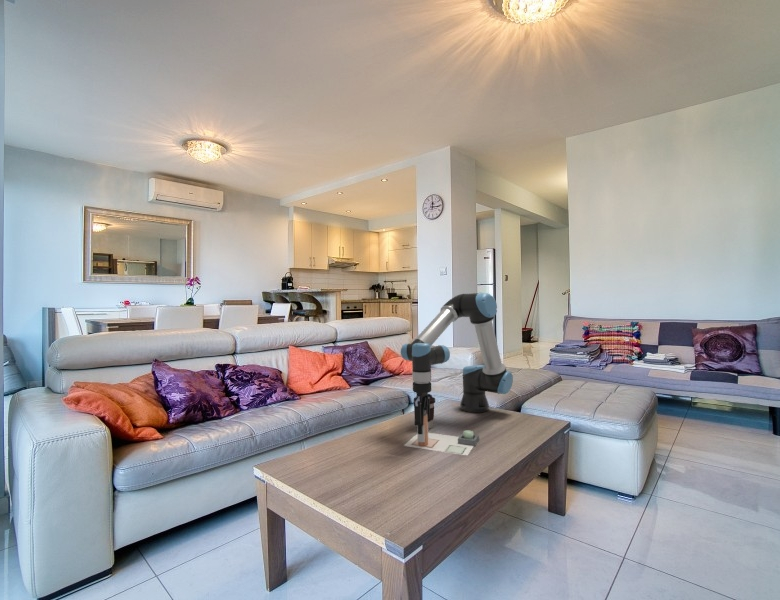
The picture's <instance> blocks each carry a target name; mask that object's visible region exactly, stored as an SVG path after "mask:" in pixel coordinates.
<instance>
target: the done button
mask: <svg viewBox="0 0 780 600" xmlns="http://www.w3.org/2000/svg"><path fill="white" fill-rule="evenodd" d="M462 433H463V435H464V439H472V440H473V439H474V437H473V434H474V431H473V430H466V429H465V430H463V431H462Z"/></svg>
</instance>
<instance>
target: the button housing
mask: <svg viewBox="0 0 780 600" xmlns="http://www.w3.org/2000/svg"><path fill="white" fill-rule="evenodd" d="M458 437H459V438H458V444H465V445H472V446H474V447H475V446H476V445H477V444H478V442H479V441H480V434H474V433H473V437H474V439H473V440H472V439H464V435H463V432H462V433H461V434H460V435H459V436H458Z"/></svg>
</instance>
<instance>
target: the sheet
mask: <svg viewBox="0 0 780 600" xmlns="http://www.w3.org/2000/svg"><path fill="white" fill-rule="evenodd" d="M458 438H459V436H457V435H456V436H455V435H448V434H440V433H433V432H428V445H427V446H419V445H418V435H417V433H416V434H415V435H414V436H413V437H411V439H409V440H408V441H407V442H406V443H404V444H403V447H410V448H415V449H422V450H428V451H435V452H440V453H441V452H442V453H448V454H455V455H460V456H469V454H470V453H471V451H472V449H473V448H474V447H475V446H472V445H465V444H458Z"/></svg>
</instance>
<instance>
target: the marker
mask: <svg viewBox="0 0 780 600" xmlns="http://www.w3.org/2000/svg"><path fill="white" fill-rule="evenodd" d="M423 425H424V435H425V442H418V445H419V446H427V445H428V433H429V429H428V415H427V414H426V410H424V420H423Z"/></svg>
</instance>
